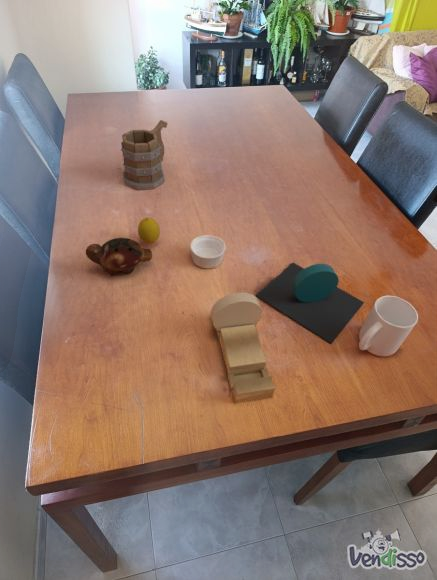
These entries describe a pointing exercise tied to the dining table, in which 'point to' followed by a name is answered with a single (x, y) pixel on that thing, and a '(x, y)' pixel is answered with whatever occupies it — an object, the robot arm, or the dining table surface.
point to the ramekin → (207, 251)
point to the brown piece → (118, 255)
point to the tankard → (143, 157)
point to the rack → (245, 364)
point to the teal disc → (315, 283)
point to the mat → (310, 306)
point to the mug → (387, 325)
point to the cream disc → (236, 311)
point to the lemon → (148, 230)
